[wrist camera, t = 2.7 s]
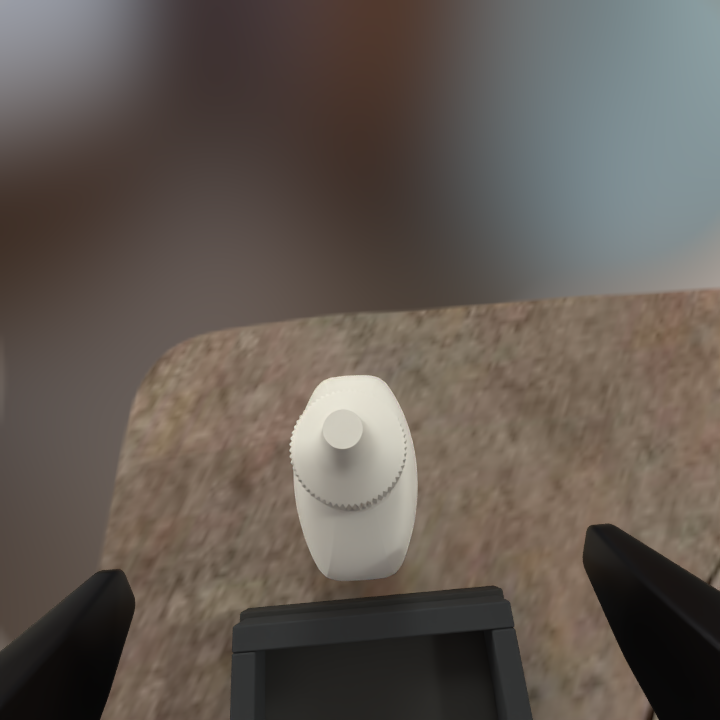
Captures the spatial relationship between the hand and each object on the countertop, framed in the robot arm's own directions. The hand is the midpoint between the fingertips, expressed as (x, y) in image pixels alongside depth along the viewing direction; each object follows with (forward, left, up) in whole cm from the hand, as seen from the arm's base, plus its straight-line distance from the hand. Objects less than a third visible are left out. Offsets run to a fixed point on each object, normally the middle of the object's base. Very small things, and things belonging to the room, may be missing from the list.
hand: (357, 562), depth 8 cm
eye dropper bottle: (+2, 0, -10) cm, 11 cm away
